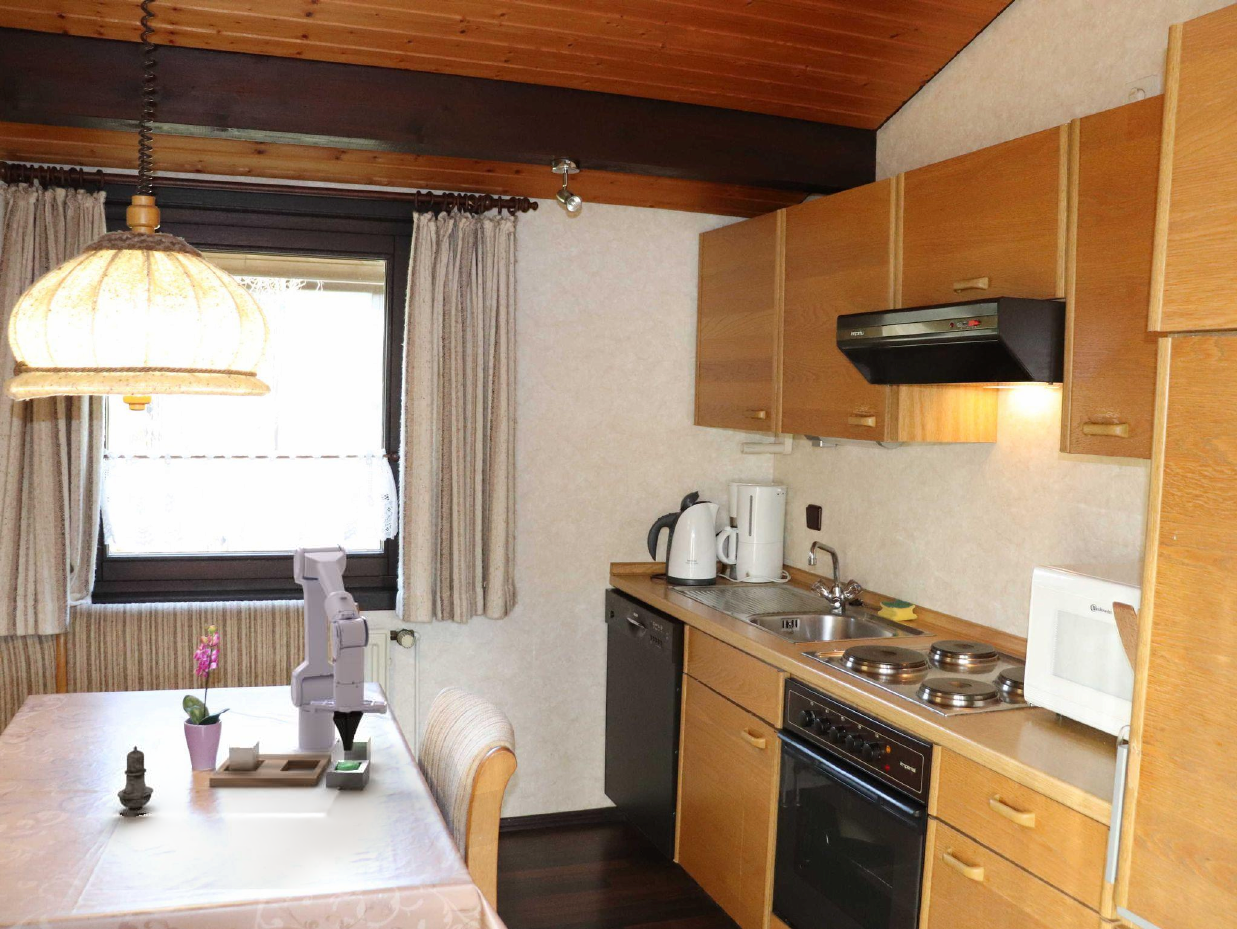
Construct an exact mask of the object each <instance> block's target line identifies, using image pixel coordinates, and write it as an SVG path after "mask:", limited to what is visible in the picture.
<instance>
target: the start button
mask: <svg viewBox="0 0 1237 929" xmlns="http://www.w3.org/2000/svg"><path fill="white" fill-rule="evenodd" d="M358 769H359V763H358V762H355V761H345V762H341V763H339V764H338V770H358Z"/></svg>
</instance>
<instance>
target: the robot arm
mask: <svg viewBox="0 0 1237 929" xmlns="http://www.w3.org/2000/svg"><path fill="white" fill-rule="evenodd" d="M346 565H347V552H346V549H345V547H344V546H343V545H342V544H341V543H339V544H338V543H337V544H330V545H329V544H327V545H325V544H324V545H308V546H307V545H305V546H302V545H298V546H297V547H296V548H295V550H294V553H293V578H294V583H296V584H299V585H301V586H302V589H303V604H304V605H303V612H304V613H303V614H304V616H303V617H304V618H303V619H304V623H303V624H304V657H305V658H304V661H303V662H302V663H301V664H299V665H298V666H297V667H296V668H295V669H294V670H293V671H292V674H291V682H290V699H291V703H292V705H293V706H294V707H295V708H298V743H297V745H296V746H295V747H294V748H293V750H292V751H293V752H294V751H295V752H310V751H311V752H330V751H331V752H332V750H333V748H334V747H335V745H336V744H337V743H338V742H339V741H340V739H341V743H342V747H343V752H344V751H351V750H352V748H353V742H354V737H355V734H357V730H358V727H359V725H360V723H361V720H362V718H363V716H364V715H365V714H380V715H386V713H387V712H388V701H378V700H370V699H365V648H367V647H368V645H369V641H370V628H369V624H368V620H367V618H366V617H365V616H363V614H359V612H358V608H357V605H356V602H355V600H354V597H353V595H352V594H351V593H349V592H347V591H345V586H344V581H343V575H344V572H345V569H346V567H347V566H346ZM328 622H329V626H330V630H329V634H330V635H329V636H330V637H329V640H330V646H331V657H332V658H333V662H331V661H329V658H328V657H329V655H328V654H329V653H328V651H329V648H328ZM336 728H337V731H338V733H339V736H340V737H339V736H336Z"/></svg>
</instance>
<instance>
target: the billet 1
mask: <svg viewBox="0 0 1237 929" xmlns="http://www.w3.org/2000/svg"><path fill="white" fill-rule="evenodd" d="M259 754H260V740H259V739H236V740H235V741H234V742H232V744H230V746H229V747H228V757H229V771H257V770H258V769H259Z"/></svg>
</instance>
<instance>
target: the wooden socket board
mask: <svg viewBox="0 0 1237 929" xmlns="http://www.w3.org/2000/svg"><path fill="white" fill-rule="evenodd" d="M331 764H332V754H331V753H325V754H324V753H259V769H258V770H257V771H229V756H228V757H227V759H225V760H224V762H223V763H221V765H220V766H219V767H218V768H217V769H216V770H215V771H214V772H213V774H211V775H210V777H209V782H208V784H209V786H208V787H213V788H215V787H222V788H223V787H227V788H228V787H231V788H232V787H238V788H239V787H243V788H244V787H247V788H248V787H251V788H252V787H257V788H258V787H266V788H267V787H268V788H269V787H270V788H271V787H279V788H280V787H282V788H283V787H284V788H285V787H290V788H292V787H297V788H298V787H300V788H301V787H302V788H303V787H310V788H311V787H312V788H314V787H317V786H318V784H319V783H320V780H321V779H322V777H323V776H324V774H326V772H327V770H328V768H329V767H330V765H331Z"/></svg>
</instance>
